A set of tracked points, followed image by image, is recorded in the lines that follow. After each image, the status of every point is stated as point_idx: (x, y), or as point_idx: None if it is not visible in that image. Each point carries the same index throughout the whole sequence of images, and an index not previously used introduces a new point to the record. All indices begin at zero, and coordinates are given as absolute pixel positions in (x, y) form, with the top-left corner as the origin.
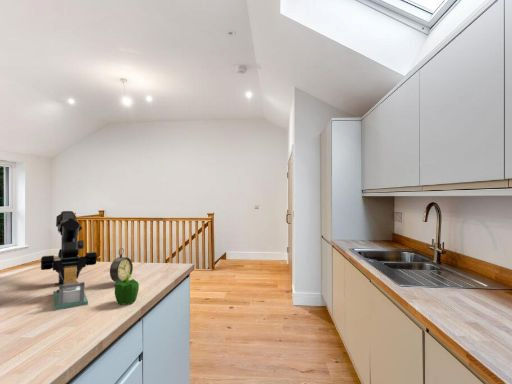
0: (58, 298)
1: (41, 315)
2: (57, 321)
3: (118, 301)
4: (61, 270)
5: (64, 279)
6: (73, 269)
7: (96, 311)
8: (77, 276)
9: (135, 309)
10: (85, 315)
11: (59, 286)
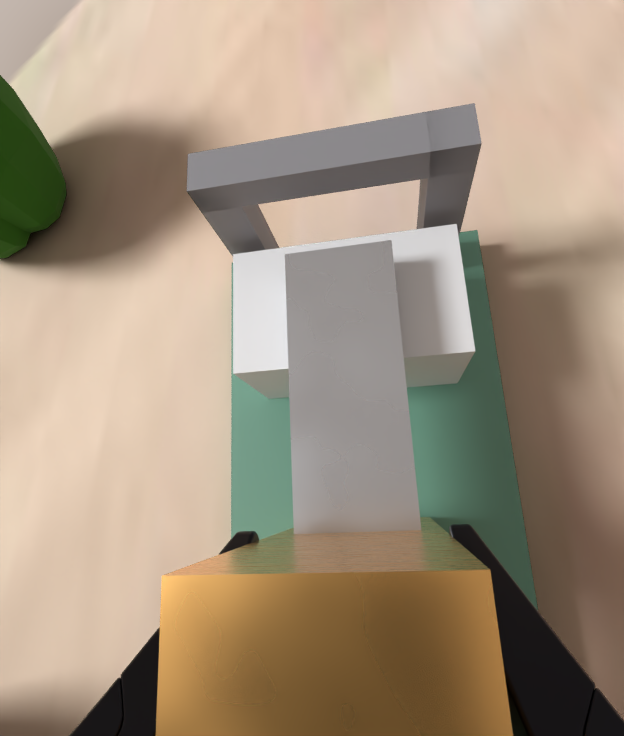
0: (473, 475)
1: (550, 175)
2: (426, 40)
3: (55, 157)
4: (568, 700)
5: (444, 533)
6: (264, 559)
7: (207, 123)
8: (238, 538)
9: (22, 82)
10: (272, 81)
11: (471, 106)
